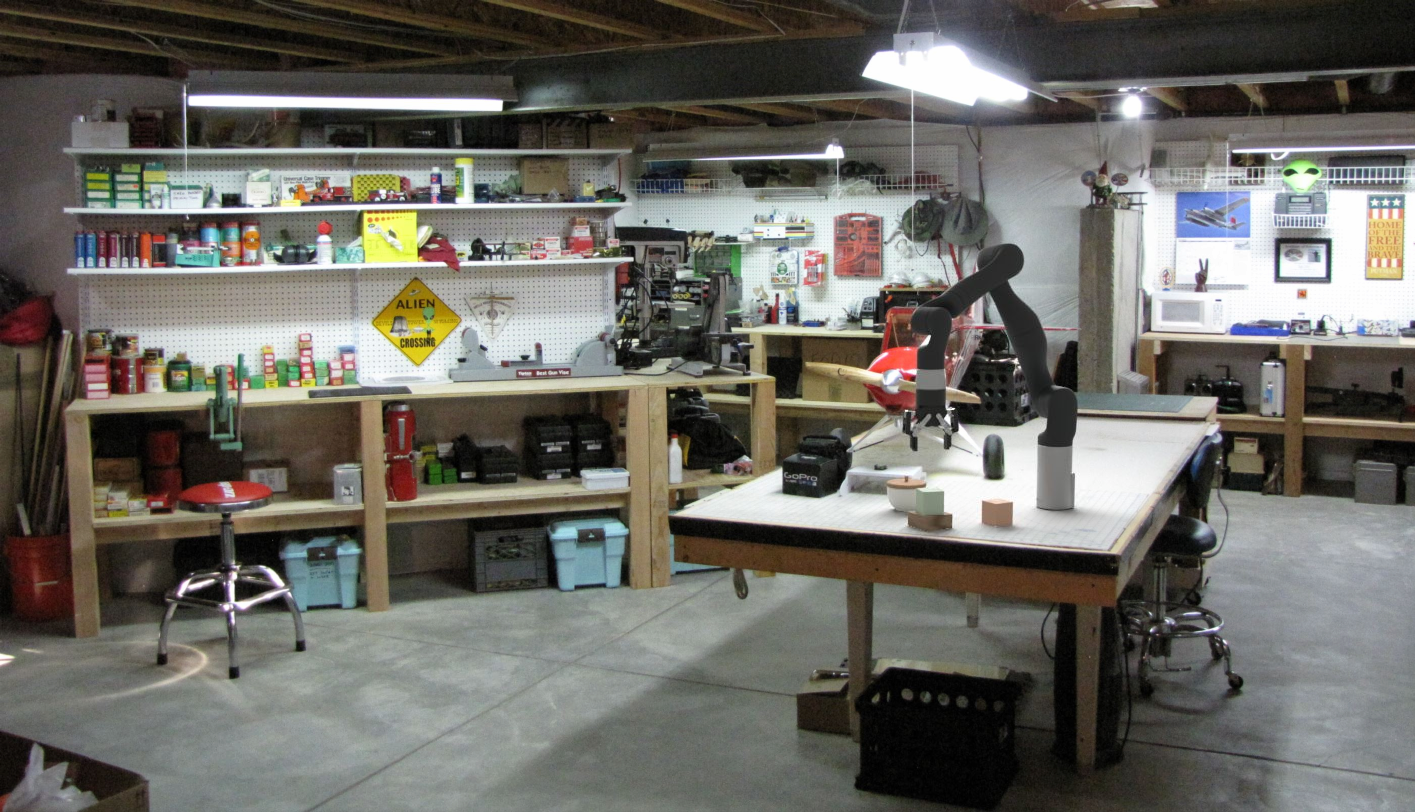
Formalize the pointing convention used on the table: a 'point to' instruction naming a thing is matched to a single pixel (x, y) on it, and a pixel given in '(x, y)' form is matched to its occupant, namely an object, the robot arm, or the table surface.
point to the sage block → (930, 501)
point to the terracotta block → (997, 512)
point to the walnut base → (929, 521)
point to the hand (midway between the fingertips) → (930, 450)
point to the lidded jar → (904, 493)
